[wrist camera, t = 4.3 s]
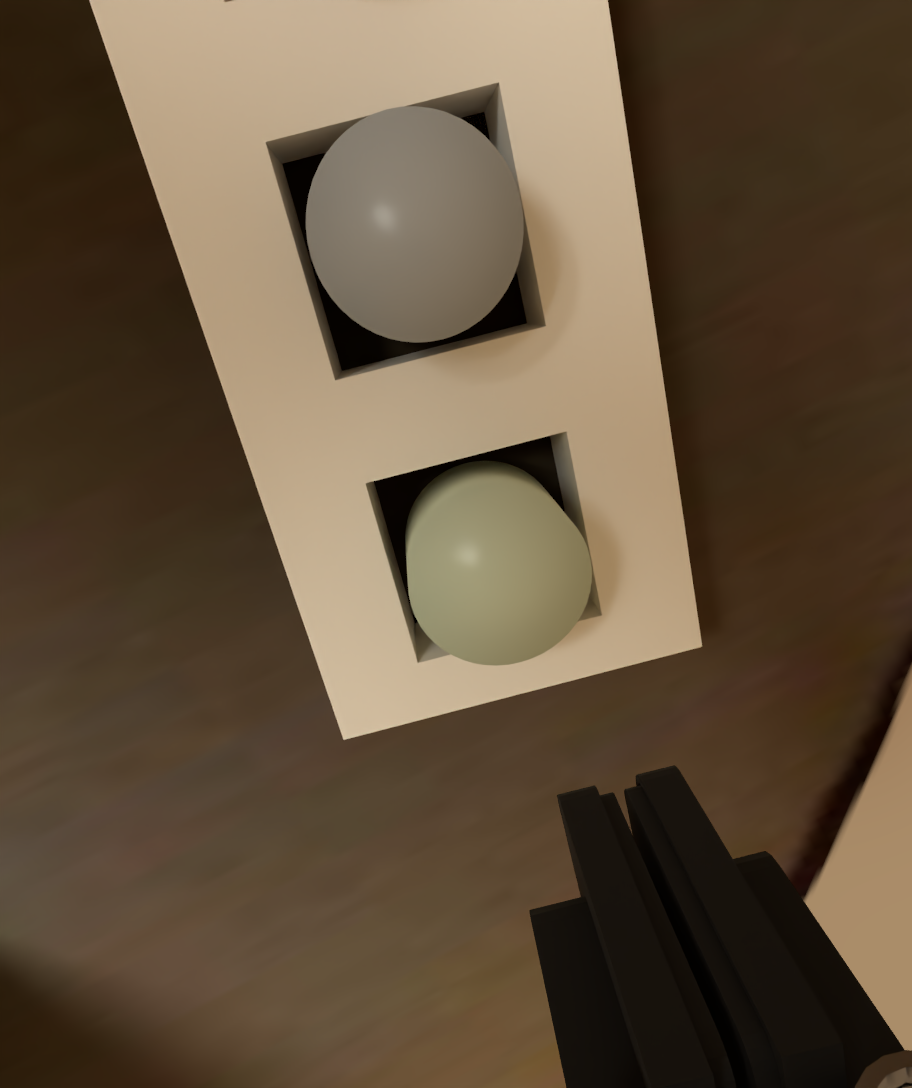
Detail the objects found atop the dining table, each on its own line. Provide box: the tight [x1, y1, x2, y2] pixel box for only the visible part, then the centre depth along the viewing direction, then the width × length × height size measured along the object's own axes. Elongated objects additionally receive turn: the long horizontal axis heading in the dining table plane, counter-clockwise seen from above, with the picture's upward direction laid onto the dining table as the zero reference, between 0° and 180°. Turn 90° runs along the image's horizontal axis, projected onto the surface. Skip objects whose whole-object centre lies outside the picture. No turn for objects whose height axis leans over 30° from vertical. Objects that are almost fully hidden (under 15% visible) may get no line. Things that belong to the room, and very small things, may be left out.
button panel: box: [89, 0, 702, 740], centre depth 21 cm, size 28×12×3 cm, turn 14°
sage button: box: [405, 461, 592, 666], centre depth 22 cm, size 5×5×4 cm
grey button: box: [306, 106, 524, 343], centre depth 19 cm, size 5×5×4 cm
